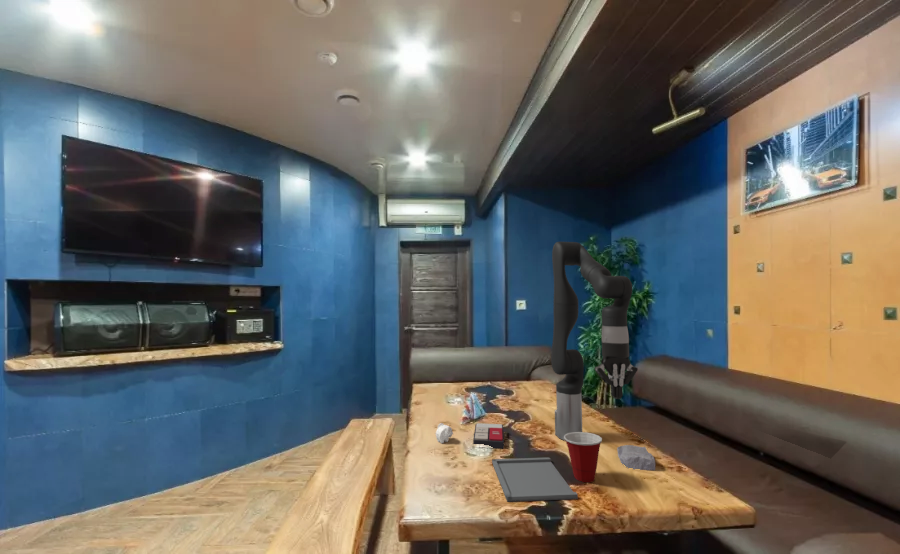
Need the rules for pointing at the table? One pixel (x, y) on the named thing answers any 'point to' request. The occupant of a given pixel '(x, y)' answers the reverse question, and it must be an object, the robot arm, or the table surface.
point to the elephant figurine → (443, 433)
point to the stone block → (636, 457)
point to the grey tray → (531, 480)
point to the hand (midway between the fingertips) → (616, 398)
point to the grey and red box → (489, 435)
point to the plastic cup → (583, 454)
